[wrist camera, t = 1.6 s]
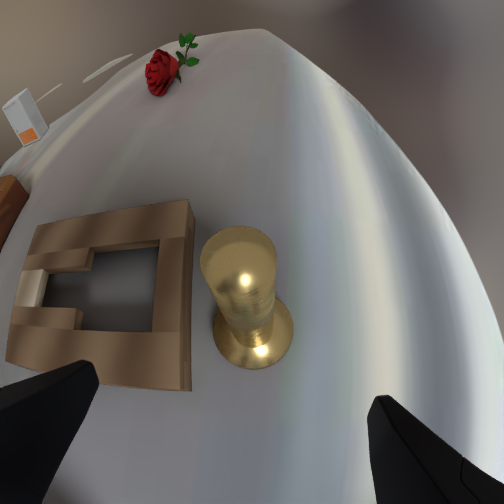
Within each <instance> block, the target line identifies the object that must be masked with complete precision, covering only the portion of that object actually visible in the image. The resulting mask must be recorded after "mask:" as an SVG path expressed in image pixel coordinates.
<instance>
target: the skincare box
mask: <svg viewBox="0 0 504 504" xmlns="http://www.w3.org/2000/svg"><path fill="white" fill-rule="evenodd" d="M2 109H3V111H4V113H5V115H6V117H7V118H8V120H9V122H10V124H11V126H12V128H13V129H14V131H15V133H16V134H17V136H18V138H19V139H20V141H21V143H22V144H23V146H24V147H25V146H27V145H29V144H31V143H33V142H35V141H37V140H40V139H41V138H42V137H43V135H44V134H45V132H46V131H47V130H48V127H47V125H46V123H45V121H44V119H43V117H42V116H41V114H40V112H39V110H38V108H37V106H36V104H35V102H34V100H33V98H32V95H31V93H30V91H29V89H28V88H27V89H25V90H23V91H22V92H20V93H18V94H17V95H16V96H14V97H13V98H11V99H10V100H9V101H8V102H7V103H6V104H5V105H4V106H3V107H2Z"/></svg>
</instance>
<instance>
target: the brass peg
mask: <svg viewBox="0 0 504 504" xmlns="http://www.w3.org/2000/svg"><path fill="white" fill-rule="evenodd" d="M276 259H277V256H276V250H275V247H274V245H273V243H272V241H271V240H270V239H269V238H268V237H267V236H266V235H265V234H264V233H262V232H261V231H259V230H257V229H255V228H251V227H247V226H234V227H229V228H226V229H223V230H221V231H219V232H217V233H216V234H214V235H213V236H212V237H211V238H210V239H209V240H208V241H207V242H206V244H205V245H204V247H203V249H202V251H201V255H200V268H201V272H202V274H203V276H204V278H205V280H206V282H207V284H208V286H209V288H210V290H211V292H212V294H213V296H214V298H215V300H216V302H217V304H218V306H219V308H220V309H219V311H218V313H217V315H216V317H215V320H214V324H213V336H214V341H215V344H216V346H217V348H218V350H219V351H220V353H221V354H222V355H223V356H224V357H225V358H226V359H227V360H228V361H229V362H231V363H232V364H234V365H236V366H238V367H241V368H244V369H251V370H255V369H263V368H266V367H269V366H271V365H273V364H275V363H276V362H278V361H279V360H280V359H281V358H282V357H283V356H284V355H285V353H286V352H287V350H288V348H289V346H290V344H291V341H292V337H293V322H292V318H291V315H290V313H289V311H288V310H287V308H286V307H285V306H284V304H283V303H282V302H281V301H279V300H278V299H277V298H275V283H276Z"/></svg>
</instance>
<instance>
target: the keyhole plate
mask: <svg viewBox="0 0 504 504" xmlns="http://www.w3.org/2000/svg"><path fill="white" fill-rule="evenodd" d="M194 231H195V217H194V215H193V212H192V209H191V206H190V203H189V201H188V200H180V201H173V202H165V203H158V204H151V205H145V206H138V207H132V208H126V209H120V210H114V211H108V212H102V213H97V214H92V215H86V216H81V217H76V218H71V219H66V220H61V221H57V222H52V223H48V224H43V225H39V226H37V228H36V231H35V234H34V236H33V239H32V242H31V245H30V248H29V251H28V254H27V257H26V260H25V263H24V267H23V270H22V274H21V277H20V281H19V285H18V289H17V293H16V297H15V302H14V306H13V311H12V316H11V322H10V328H9V334H8V341H7V349H6V359H5V361H7V362H9V363H12V364H15V365H18V366H20V367H23V368H27V369H30V370H34V371H38V372H42V373H45V372H48V371H51V370H54V369H57V368H59V367H62V366H65V365H68V364H70V363H73V362H76V361H78V360H81V359H84V360H87V361H90V362H92V363H93V365H94V367H95V370H96V373H97V376H98V378H99V384H104V385H112V386H120V387H129V388H140V389H152V390H169V391H192V381H191V298H192V269H193V248H194ZM158 246H159V254H158V262H157V271H156V281H155V292H154V304H153V319H152V332H109V331H87V330H81V326H82V318H83V312H82V311H80V310H79V309H77V308H53V307H42V302H43V297H44V293H45V288H46V284H47V280H48V276H49V274H57V273H71V272H84V271H91V268H92V263H93V259H94V254H95V253H101V252H110V251H119V250H129V249H138V248H148V247H158Z"/></svg>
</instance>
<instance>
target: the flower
mask: <svg viewBox="0 0 504 504" xmlns="http://www.w3.org/2000/svg"><path fill="white" fill-rule="evenodd" d="M195 36H196V35H194V37H193V34H191V33H189V34H187V35H186V37H185V38H184V36H182V34H181V33H180V36H179V43H180V46H181V47H184V46H185V43H186V44H189V43H190V44H189V46H188V45H187V46H188V48H187V47H186V48H187V50H186V54H185V58H184V56H183V55H182V54H181V53H180V52H179V51H177V52H176V54H177V56H178V58H179V61H177V60H176V59H175V58H174V57H173V56H171V55H170V54H168V52H166V51H165V52H164V51H162V50H161V49H157V50H156V51H155V53H154V54H153V57H152V58H151V60H150V63H148V64H146V69H145V77H146V78H147V84H148V85H149V86H148V88H149V90H150V91H151V93H153V94H155V95H158V96H162V95H163V94H164V93H165V92H166V89H167V87H168V86H169V85H170V83H171V82H172V81H173V80H174V78H175V76H176V77H177V78H178V79H179V80H180V83H181V77H180V75H179V68H180V67H181V66H182V65H183V64H185V60H186V57H187V51H188V49H189V47H190V48H196V47H197V46H198V44H196V43H192V42H193V40H194V39H195ZM186 62H187V65H188V66H194V65H196V64H198V62H199V59H197V58H194V57H191V58H189V59H188V60H187V61H186Z"/></svg>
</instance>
